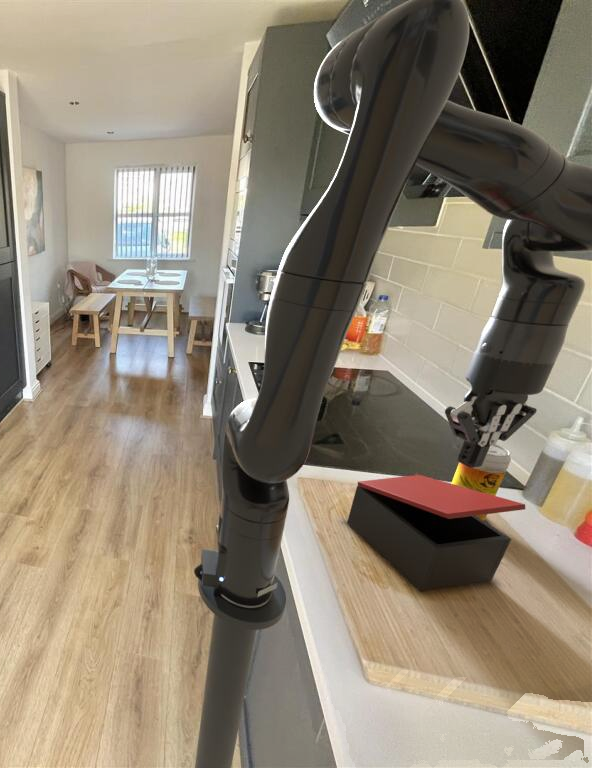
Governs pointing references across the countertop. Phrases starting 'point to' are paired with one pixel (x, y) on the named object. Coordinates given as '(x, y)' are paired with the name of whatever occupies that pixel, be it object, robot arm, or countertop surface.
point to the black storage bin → (428, 542)
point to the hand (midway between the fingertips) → (468, 464)
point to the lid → (440, 496)
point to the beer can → (484, 473)
